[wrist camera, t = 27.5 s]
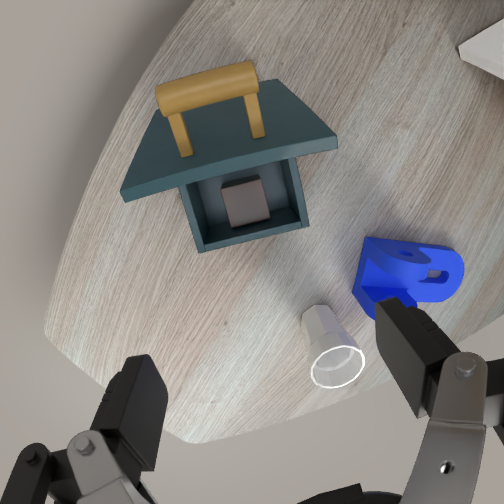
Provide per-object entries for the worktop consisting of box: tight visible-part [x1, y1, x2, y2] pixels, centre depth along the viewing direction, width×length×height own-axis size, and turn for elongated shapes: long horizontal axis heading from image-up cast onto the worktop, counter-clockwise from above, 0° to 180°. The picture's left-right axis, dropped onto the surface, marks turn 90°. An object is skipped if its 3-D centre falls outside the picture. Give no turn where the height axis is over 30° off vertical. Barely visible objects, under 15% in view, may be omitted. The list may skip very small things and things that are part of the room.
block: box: [220, 174, 271, 228], centre depth 36 cm, size 4×4×4 cm
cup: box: [301, 305, 365, 389], centre depth 40 cm, size 7×7×11 cm
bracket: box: [352, 237, 464, 320], centre depth 39 cm, size 18×8×9 cm, turn 84°
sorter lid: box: [120, 60, 338, 203], centre depth 20 cm, size 15×12×5 cm
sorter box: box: [179, 157, 310, 253], centre depth 34 cm, size 15×12×8 cm
